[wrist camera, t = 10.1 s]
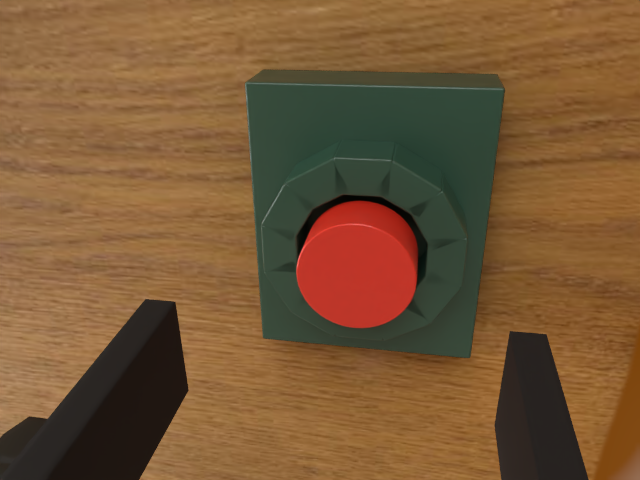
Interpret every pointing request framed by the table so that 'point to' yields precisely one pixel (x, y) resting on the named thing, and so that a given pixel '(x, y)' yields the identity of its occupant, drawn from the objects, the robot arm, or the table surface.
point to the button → (359, 265)
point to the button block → (375, 191)
